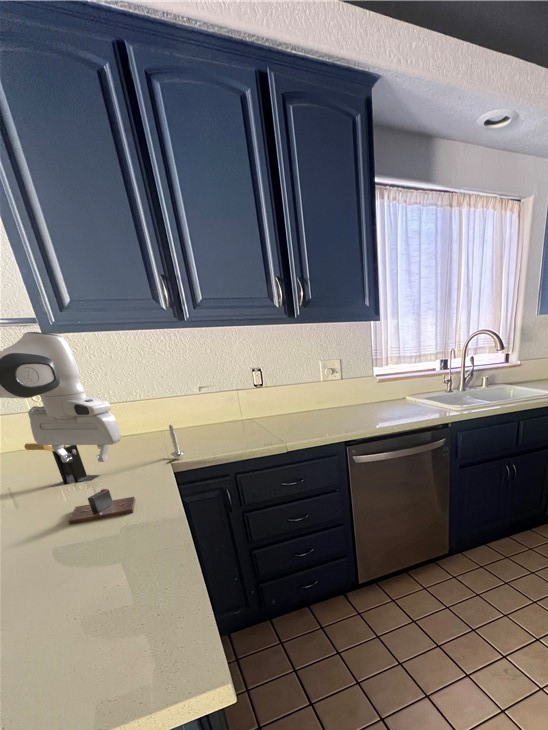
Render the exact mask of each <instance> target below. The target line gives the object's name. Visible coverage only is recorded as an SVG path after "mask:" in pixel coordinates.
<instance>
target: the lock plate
mask: <svg viewBox="0 0 548 730" xmlns="http://www.w3.org/2000/svg"><path fill="white" fill-rule="evenodd" d="M112 501H113V504H111V505H110V506H108V507H106V508H105V509H103V510H101V511H100V512H92V510H91V507H90V504H89V503H88V504H85V505H79V506H74V509H73V511H72V513H71V515H70V517H69V519H68V524H69V526H71V525H77V524H81V523H86V522H87V523H88V522H91V521H92V522H93V521H96V520H97V521H98V520H104V519H108V518H113V517H119V516H124V515H129V514H134V511H135V504H136V497H135V496H129V497H123V498H117V499H112Z"/></svg>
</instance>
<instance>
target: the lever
mask: <svg viewBox="0 0 548 730" xmlns="http://www.w3.org/2000/svg"><path fill="white" fill-rule="evenodd" d="M63 448H64V447H63ZM24 449H25V450H26V451H48V452H52V451H54V450H53V448H52V446H50V445H39V444H38V443H36V442H33V443H32V442H28V443H25V444H24ZM54 452H55V451H54Z"/></svg>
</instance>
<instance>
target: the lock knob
mask: <svg viewBox="0 0 548 730" xmlns="http://www.w3.org/2000/svg"><path fill="white" fill-rule="evenodd" d="M112 500H113V497H112V494H111V491H110V490H109V489H108V488H102V489H100V491H98V492H96V493H95V494H92V495H91V496H89V497H87V501H88V505H89V504H90V507H91V510H92V512H100V511H101V510H103V509H105V508H106V507H108V506H110V505H111V504H113V501H112Z"/></svg>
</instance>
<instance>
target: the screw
mask: <svg viewBox="0 0 548 730" xmlns="http://www.w3.org/2000/svg"><path fill="white" fill-rule="evenodd" d="M168 429H169V435H170V439H171V443H172V447H173V452H171V453H170V456H171V457H174V460H176V461H178V460H183V459H184V458H183V455H185V451H183V450H180V447H179V444H178V439H177V435H176V432H175V430H174V429H175V428H174V425H172V424H169V425H168Z"/></svg>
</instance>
